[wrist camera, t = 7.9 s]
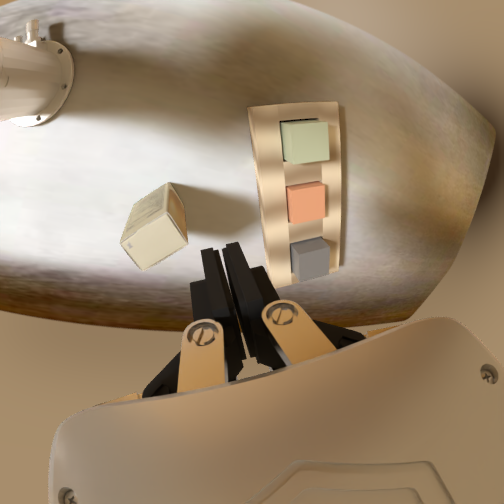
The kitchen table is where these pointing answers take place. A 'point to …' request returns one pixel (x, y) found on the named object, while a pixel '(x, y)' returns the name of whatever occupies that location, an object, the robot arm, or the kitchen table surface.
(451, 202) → the kitchen table surface
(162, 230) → the skincare box
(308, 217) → the terracotta key
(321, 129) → the sage key
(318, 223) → the board
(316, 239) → the charcoal key
